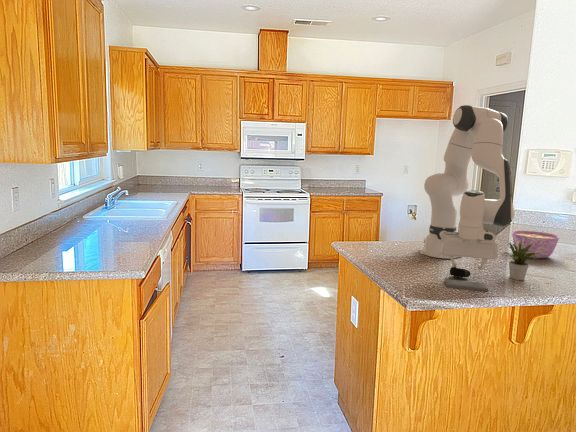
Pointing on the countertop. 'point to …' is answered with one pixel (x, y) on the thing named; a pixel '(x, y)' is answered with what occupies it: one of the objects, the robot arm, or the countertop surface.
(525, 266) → the house plant
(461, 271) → the tape measure
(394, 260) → the countertop surface
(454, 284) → the gray rectangular block
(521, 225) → the countertop surface
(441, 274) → the countertop surface
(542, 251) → the bowl of food
